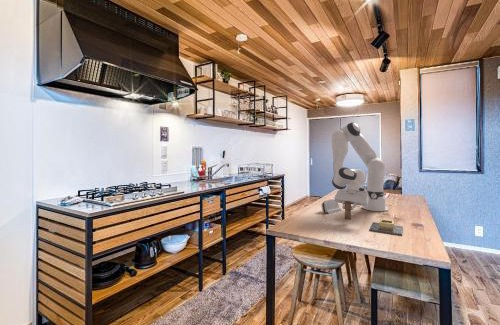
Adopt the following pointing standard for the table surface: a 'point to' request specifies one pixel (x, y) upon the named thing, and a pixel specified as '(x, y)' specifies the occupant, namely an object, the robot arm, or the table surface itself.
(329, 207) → the hinge
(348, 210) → the rail post
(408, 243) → the table surface
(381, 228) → the peg socket base
